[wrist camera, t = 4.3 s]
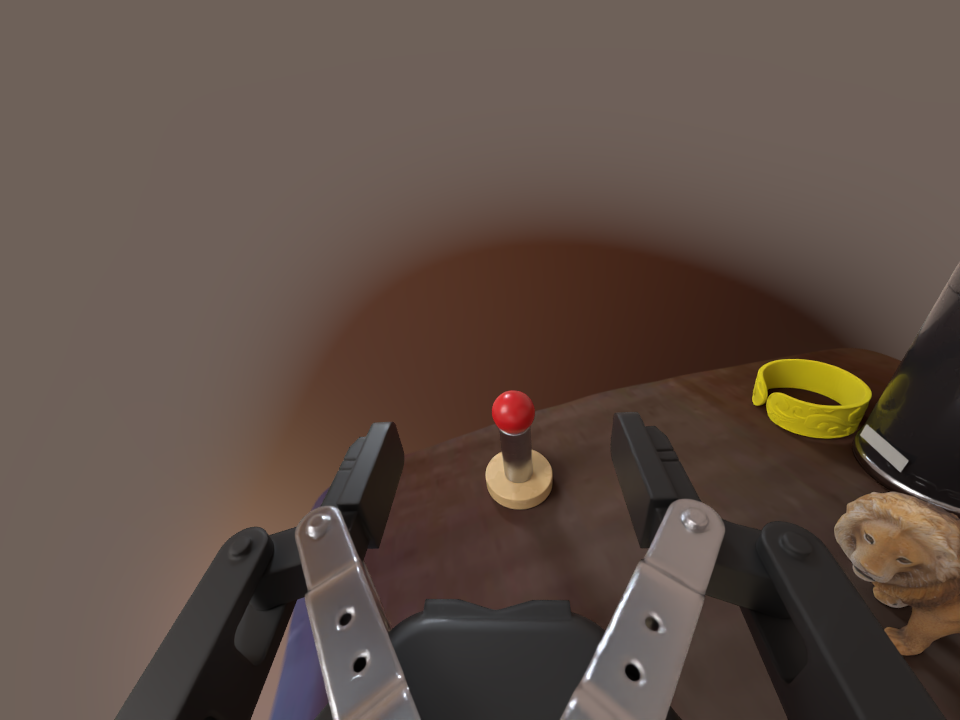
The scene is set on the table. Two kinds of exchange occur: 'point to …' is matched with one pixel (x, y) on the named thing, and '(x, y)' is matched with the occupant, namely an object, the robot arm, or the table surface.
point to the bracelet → (807, 415)
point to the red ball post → (517, 456)
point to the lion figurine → (907, 562)
